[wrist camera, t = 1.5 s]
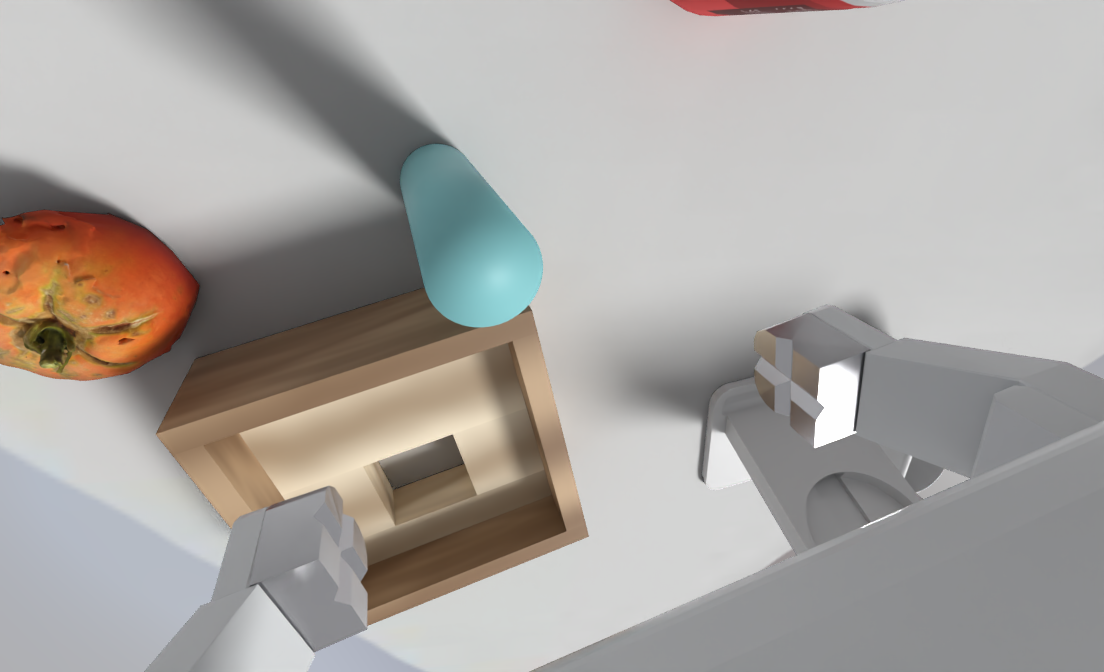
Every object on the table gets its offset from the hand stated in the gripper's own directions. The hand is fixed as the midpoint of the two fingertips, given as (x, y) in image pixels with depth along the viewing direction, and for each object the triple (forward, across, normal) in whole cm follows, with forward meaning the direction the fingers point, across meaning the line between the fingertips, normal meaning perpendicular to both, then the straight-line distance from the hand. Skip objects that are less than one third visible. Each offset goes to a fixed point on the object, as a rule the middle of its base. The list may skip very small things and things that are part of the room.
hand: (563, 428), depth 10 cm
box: (+20, +6, +13) cm, 24 cm away
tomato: (+20, +16, 0) cm, 25 cm away
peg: (+19, 0, 0) cm, 19 cm away
